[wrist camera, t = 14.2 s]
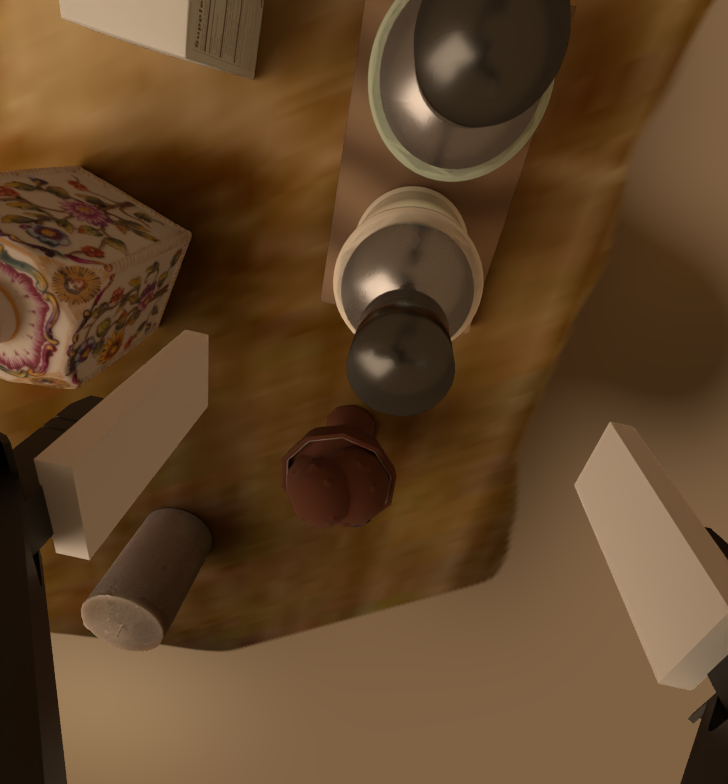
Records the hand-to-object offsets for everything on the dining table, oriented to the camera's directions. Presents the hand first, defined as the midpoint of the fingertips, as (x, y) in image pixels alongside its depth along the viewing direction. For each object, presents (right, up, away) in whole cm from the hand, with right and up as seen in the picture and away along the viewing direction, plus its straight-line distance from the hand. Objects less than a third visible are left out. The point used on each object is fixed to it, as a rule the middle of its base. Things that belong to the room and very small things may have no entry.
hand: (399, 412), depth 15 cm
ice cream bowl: (-3, -3, +36) cm, 36 cm away
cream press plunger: (+1, +7, +13) cm, 15 cm away
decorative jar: (-24, +14, +29) cm, 41 cm away
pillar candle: (-27, -19, +48) cm, 58 cm away
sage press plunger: (+4, +16, +8) cm, 18 cm away
